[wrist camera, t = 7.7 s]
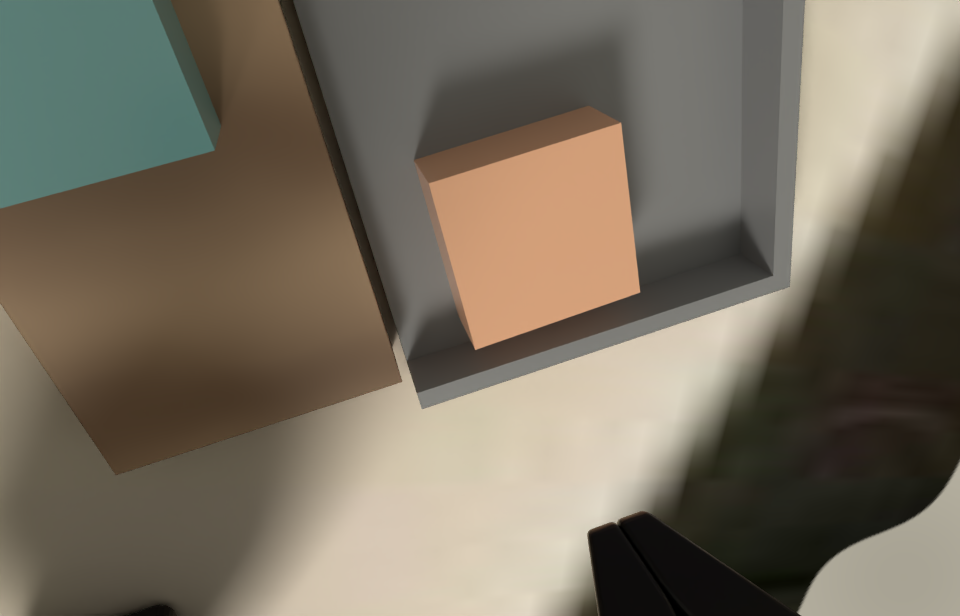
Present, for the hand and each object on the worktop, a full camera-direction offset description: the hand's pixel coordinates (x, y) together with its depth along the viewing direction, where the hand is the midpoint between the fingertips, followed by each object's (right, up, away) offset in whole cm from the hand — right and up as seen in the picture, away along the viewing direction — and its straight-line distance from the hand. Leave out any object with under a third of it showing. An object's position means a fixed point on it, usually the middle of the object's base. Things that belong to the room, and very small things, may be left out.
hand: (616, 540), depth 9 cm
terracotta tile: (-1, +6, +10) cm, 12 cm away
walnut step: (-10, +6, +8) cm, 14 cm away
